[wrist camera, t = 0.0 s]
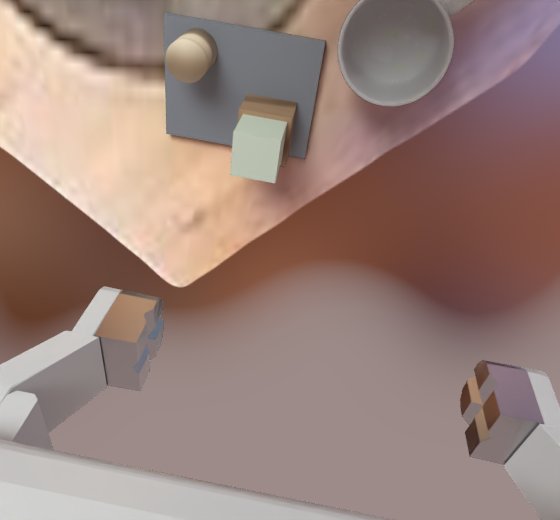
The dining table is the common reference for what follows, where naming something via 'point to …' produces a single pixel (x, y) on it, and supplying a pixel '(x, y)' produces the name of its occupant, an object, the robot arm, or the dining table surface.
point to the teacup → (397, 48)
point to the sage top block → (257, 148)
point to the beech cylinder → (191, 55)
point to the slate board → (242, 80)
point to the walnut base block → (272, 115)
